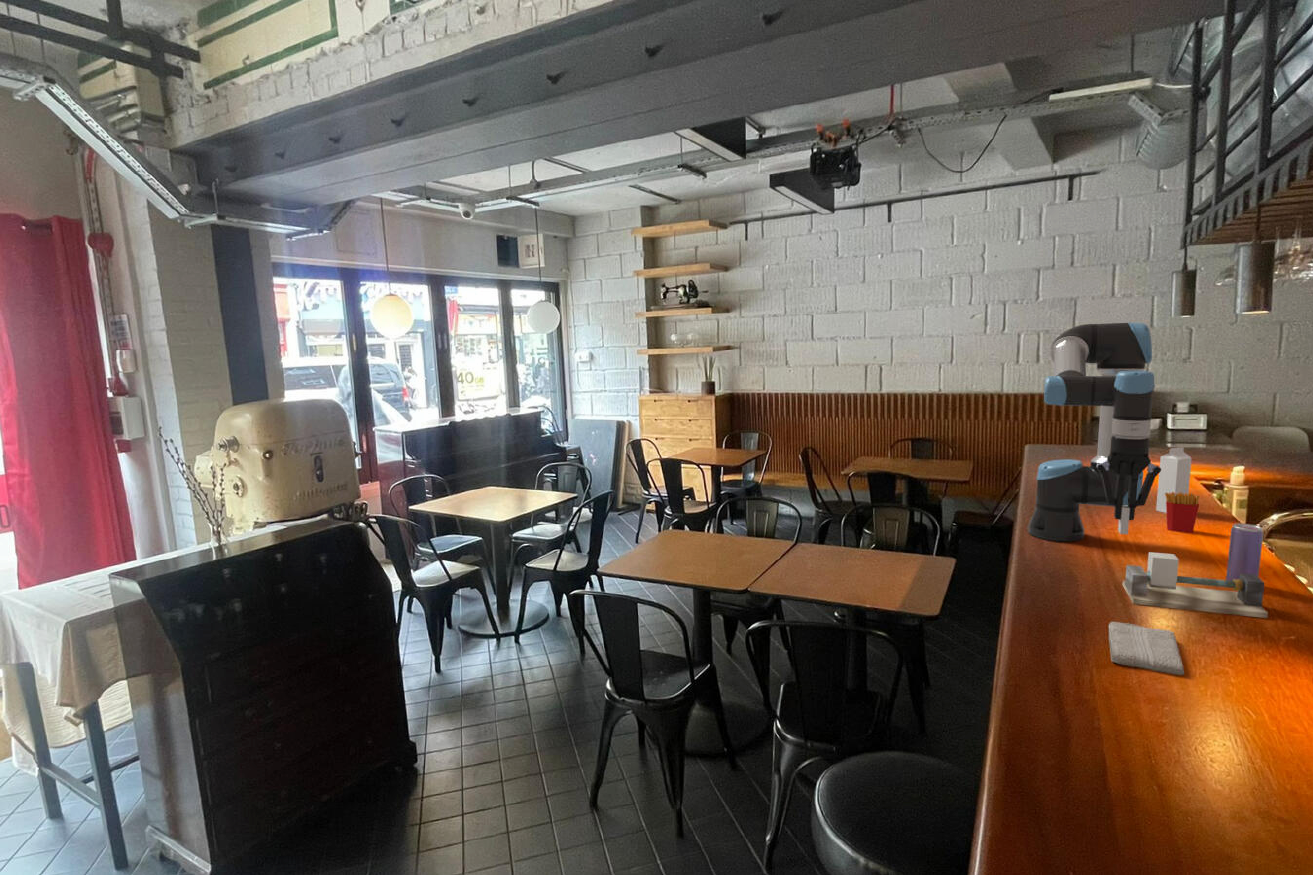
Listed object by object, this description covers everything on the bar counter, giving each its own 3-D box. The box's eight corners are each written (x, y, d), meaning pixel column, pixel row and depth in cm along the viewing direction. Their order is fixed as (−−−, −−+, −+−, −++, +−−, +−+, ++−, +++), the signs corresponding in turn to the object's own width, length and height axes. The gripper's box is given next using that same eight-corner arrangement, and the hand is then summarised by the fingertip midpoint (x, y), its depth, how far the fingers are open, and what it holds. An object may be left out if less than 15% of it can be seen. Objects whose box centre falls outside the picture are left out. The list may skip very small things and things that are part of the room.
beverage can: (1250, 591, 166) (1256, 532, 164) (1220, 583, 172) (1226, 525, 169) (1261, 585, 169) (1268, 527, 166) (1232, 578, 174) (1239, 521, 172)
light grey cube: (1150, 587, 164) (1152, 557, 162) (1146, 581, 167) (1148, 552, 166) (1175, 589, 162) (1178, 559, 160) (1171, 583, 165) (1173, 554, 164)
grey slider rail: (1133, 603, 162) (1135, 575, 161) (1122, 585, 173) (1124, 558, 172) (1267, 618, 152) (1270, 588, 151) (1247, 597, 163) (1250, 569, 162)
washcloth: (1172, 640, 145) (1173, 626, 144) (1186, 679, 130) (1187, 664, 129) (1105, 629, 151) (1106, 616, 150) (1111, 666, 136) (1112, 651, 135)
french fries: (1195, 530, 212) (1198, 492, 210) (1196, 533, 209) (1200, 495, 207) (1161, 526, 216) (1164, 489, 214) (1162, 530, 213) (1165, 492, 211)
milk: (1186, 513, 229) (1193, 448, 225) (1172, 515, 227) (1179, 450, 224) (1168, 508, 235) (1175, 445, 231) (1155, 510, 233) (1161, 447, 229)
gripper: (1100, 438, 161) (1094, 534, 165) (1168, 440, 156) (1159, 539, 159) (1095, 433, 168) (1088, 525, 171) (1159, 434, 162) (1151, 530, 166)
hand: (1122, 532), depth 165 cm, fingers closed
